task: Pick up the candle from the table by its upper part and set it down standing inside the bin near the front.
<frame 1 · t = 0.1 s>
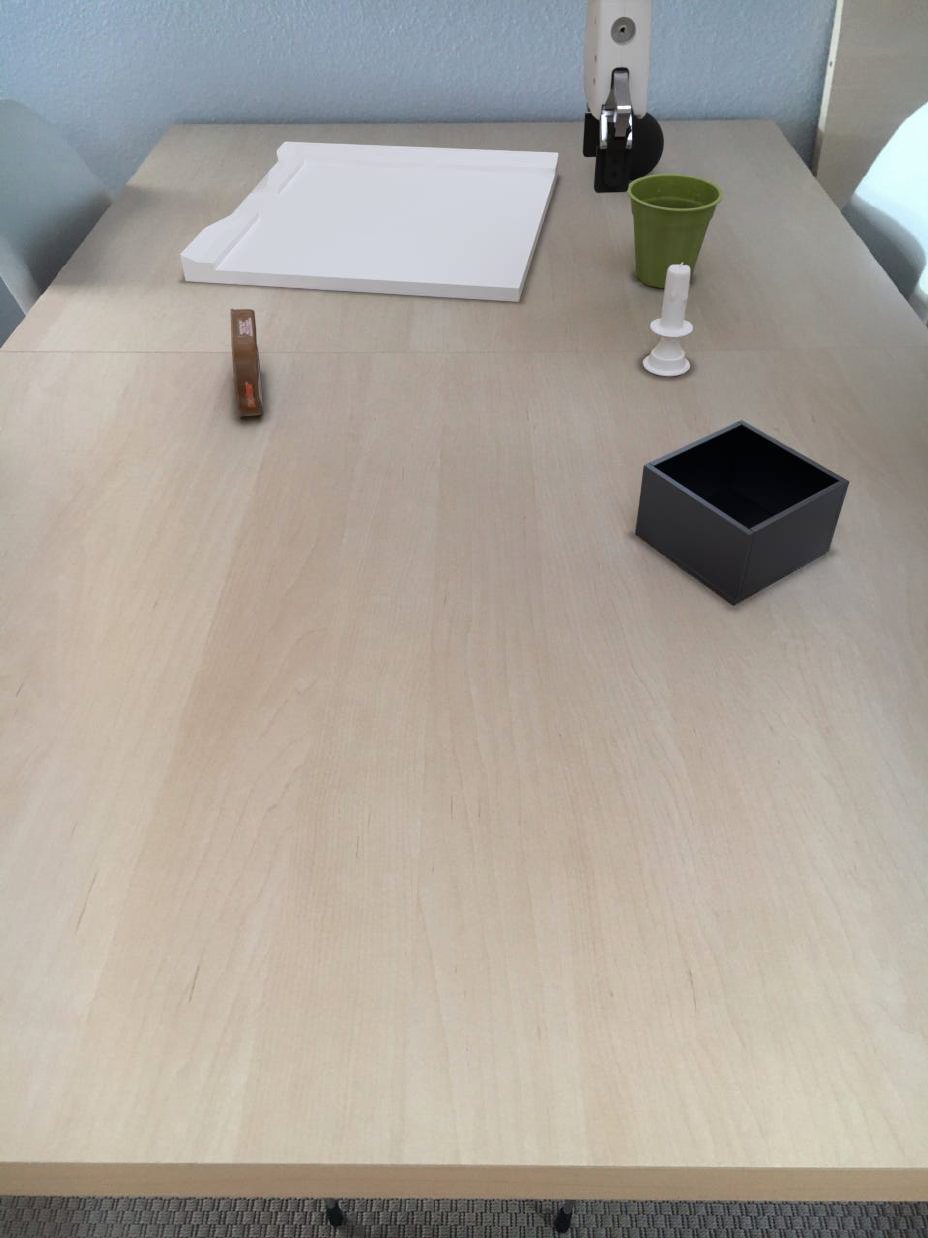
hand: (604, 172, 96), 22 cm above the table, tool pointing down, fingers open, 9 cm apart
bin: (730, 542, 90), on the table
plant pot: (663, 279, 130), on the table
candle: (666, 366, 113), on the table
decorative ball: (627, 179, 157), on the table
brown thin box: (253, 396, 110), on the table
tray: (388, 225, 145), on the table
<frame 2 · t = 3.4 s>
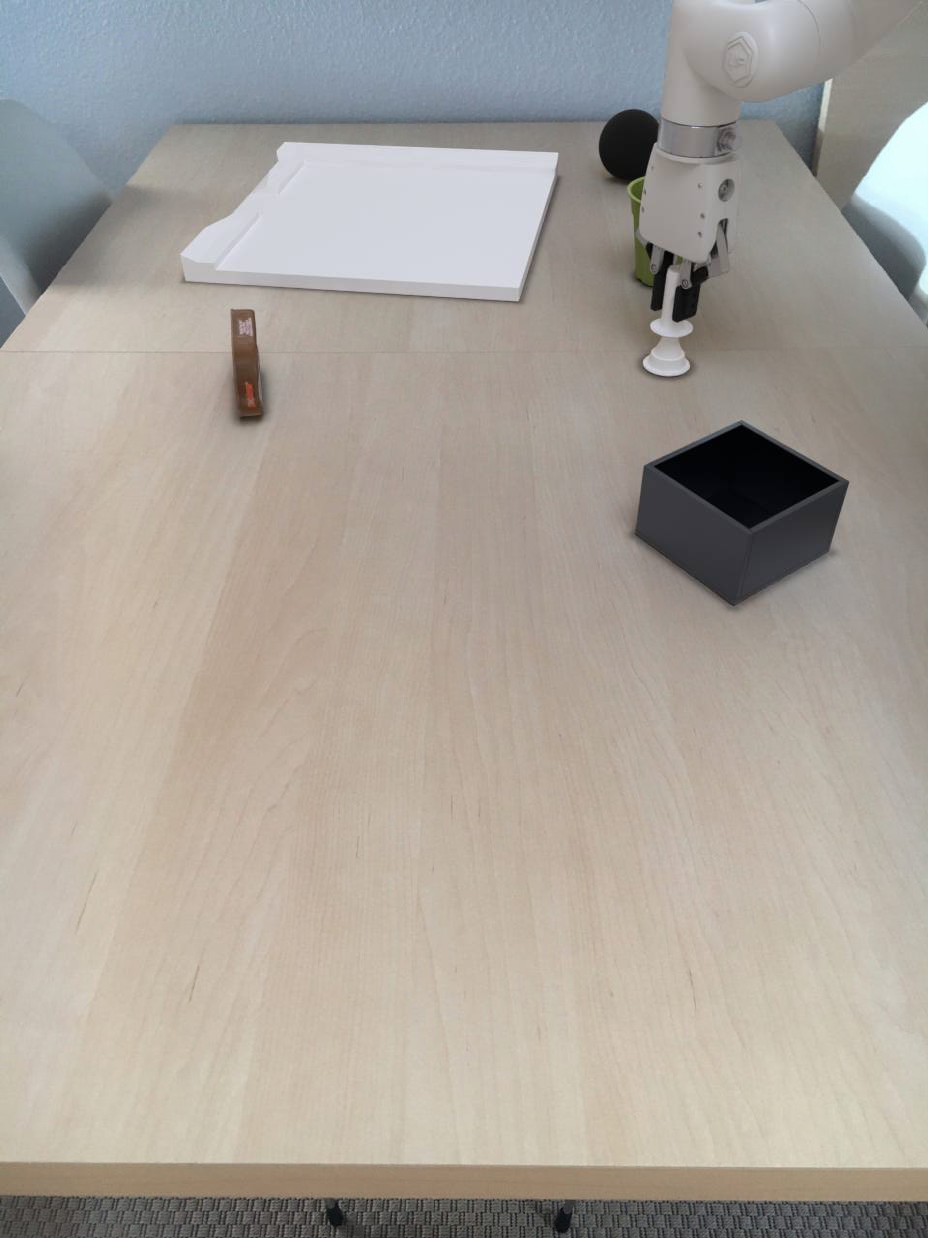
hand: (673, 311, 109), 7 cm above the table, tool pointing down, fingers closed on candle, 2 cm apart
candle: (665, 366, 113), on the table, touching gripper
everything else where it was.
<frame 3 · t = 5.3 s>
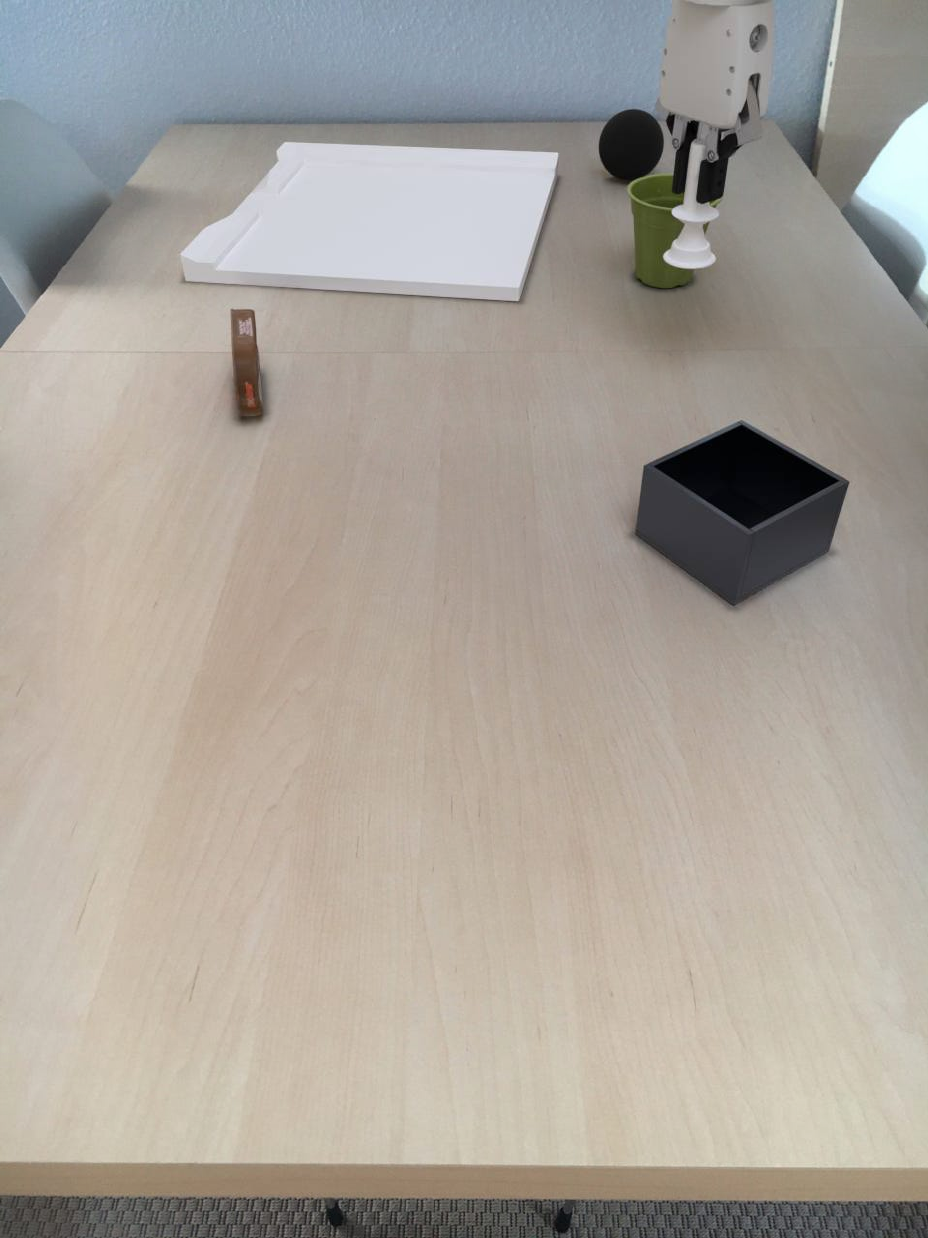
hand: (697, 193, 98), 20 cm above the table, tool pointing down, fingers closed on candle, 2 cm apart
candle: (688, 260, 102), point 13 cm above the table, touching gripper
everything else where it was.
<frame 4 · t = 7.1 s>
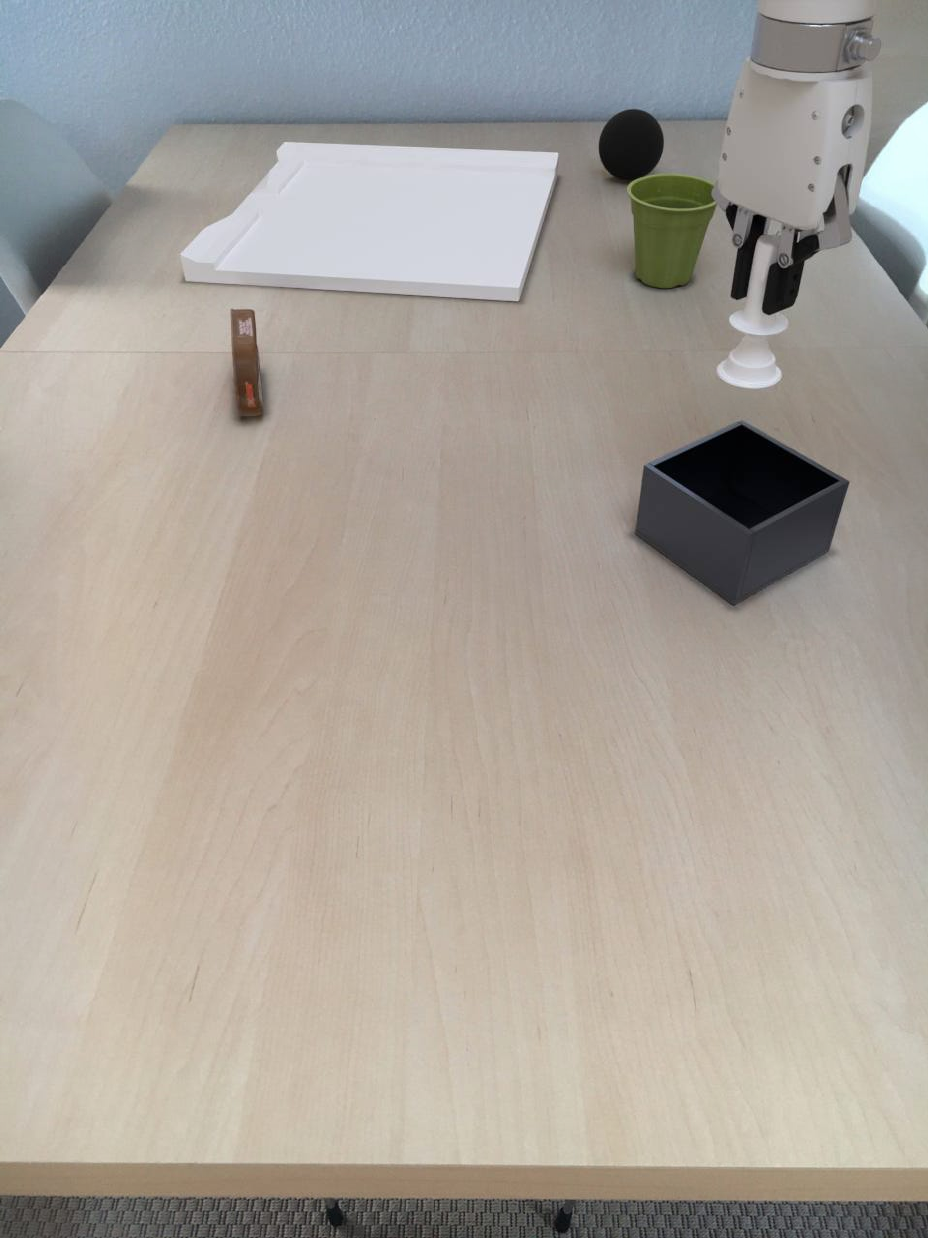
hand: (762, 299, 79), 21 cm above the table, tool pointing down, fingers closed on candle, 2 cm apart
candle: (748, 376, 84), point 14 cm above the table, touching gripper
everything else where it was.
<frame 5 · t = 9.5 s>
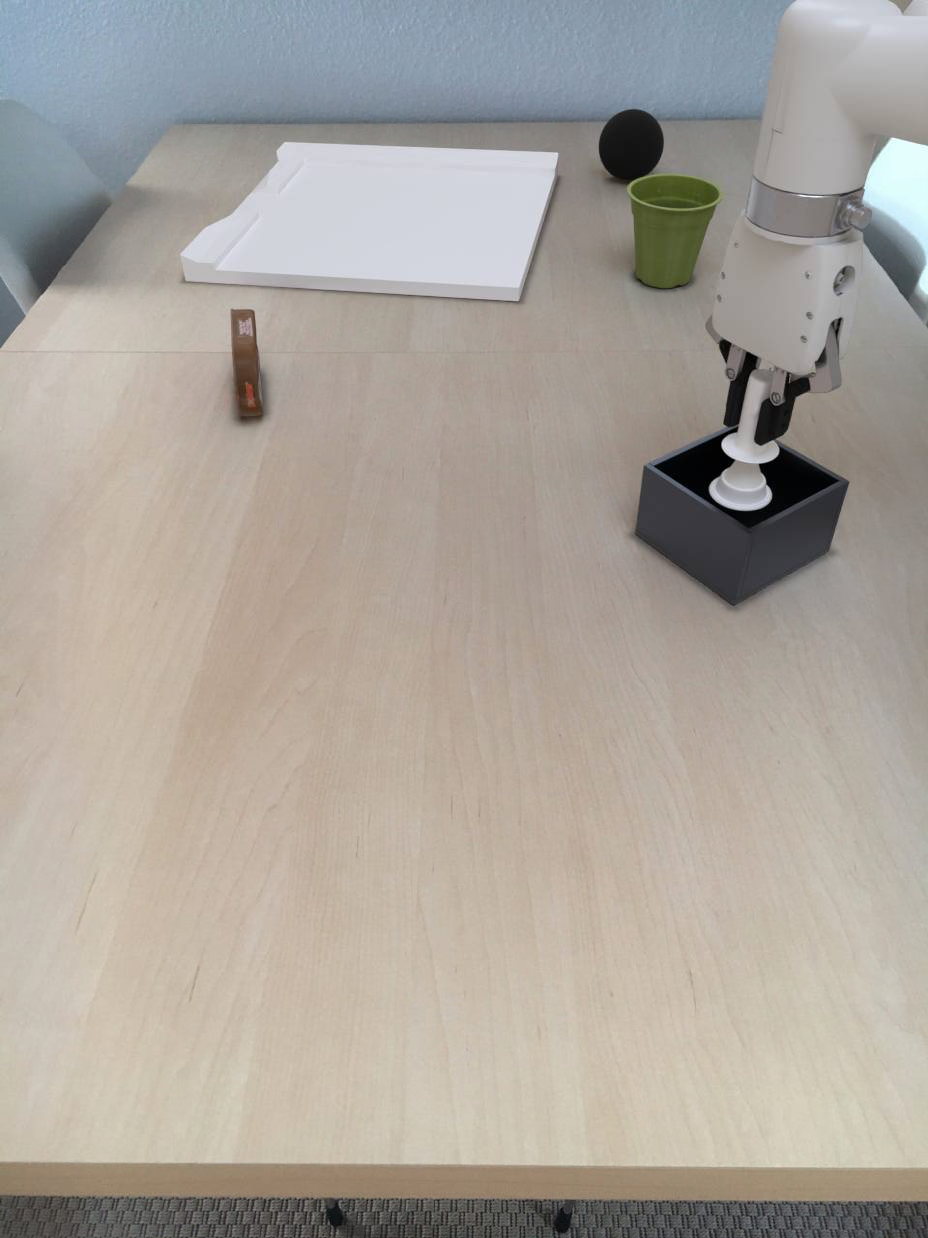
hand: (754, 428, 81), 12 cm above the table, tool pointing down, fingers closed on candle, 2 cm apart
candle: (739, 495, 86), point 5 cm above the table, touching gripper
everything else where it was.
when the fingers open (7 cm above the table, at t = 11.0 s): candle stays where it is, resting on bin.
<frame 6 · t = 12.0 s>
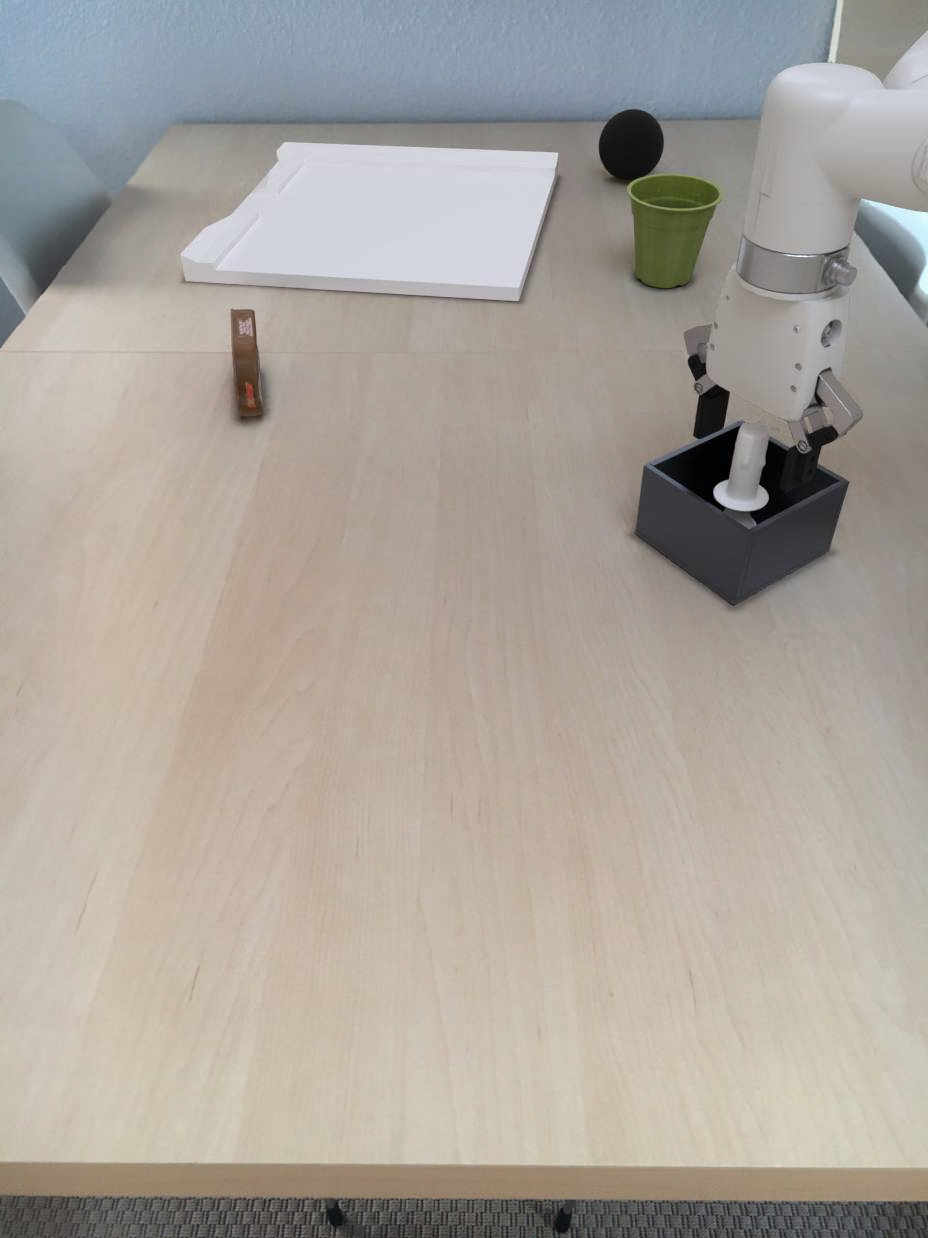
hand: (750, 458, 83), 9 cm above the table, tool pointing down, fingers open, 9 cm apart
candle: (731, 539, 89), resting on bin
everything else where it was.
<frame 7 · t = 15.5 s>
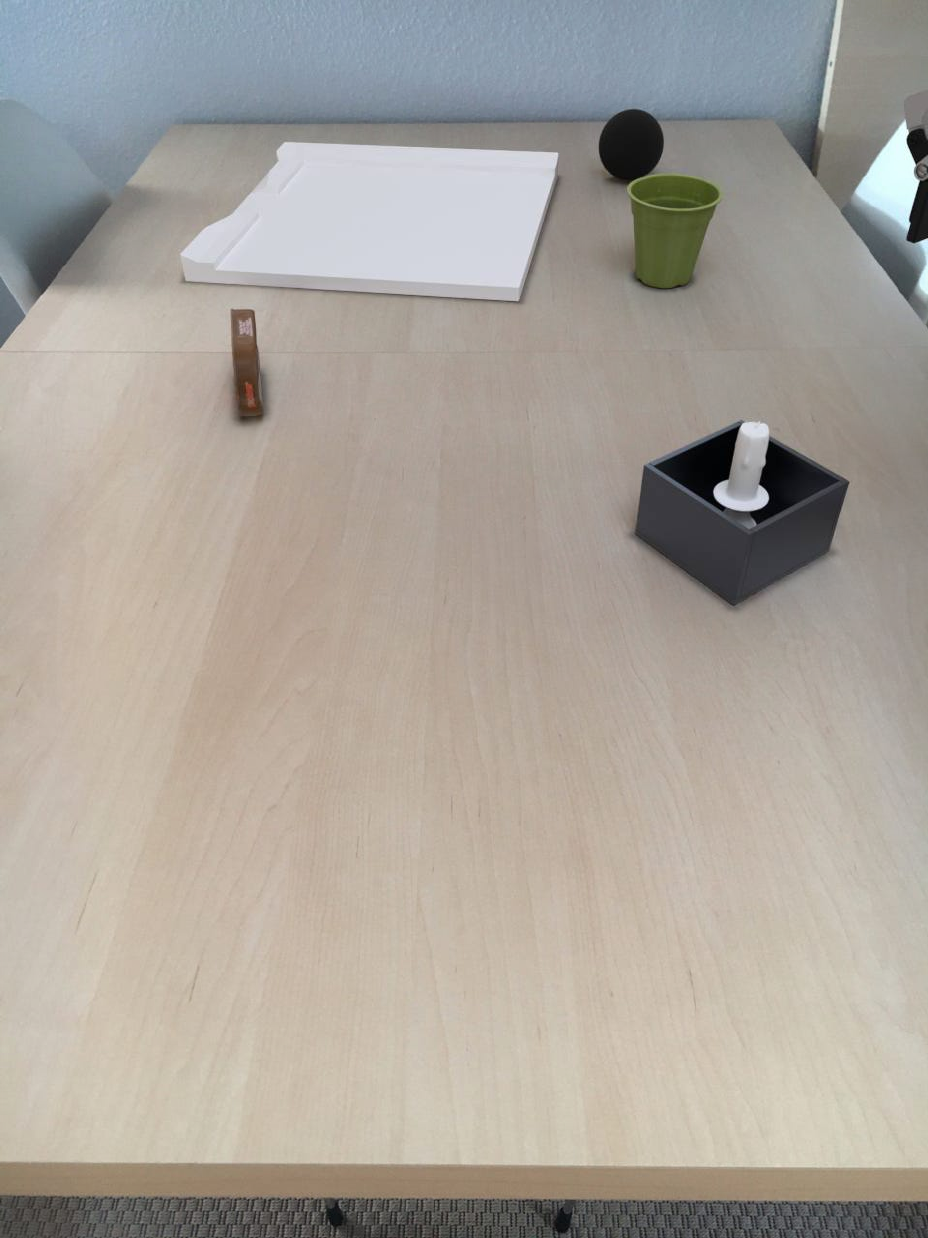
nothing on the table moved.
at the end: candle inside the target area in the bin (0.1 cm from its centre), point 0.4 cm above the bin's base; candle tilted 0°; the gripper is holding nothing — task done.
